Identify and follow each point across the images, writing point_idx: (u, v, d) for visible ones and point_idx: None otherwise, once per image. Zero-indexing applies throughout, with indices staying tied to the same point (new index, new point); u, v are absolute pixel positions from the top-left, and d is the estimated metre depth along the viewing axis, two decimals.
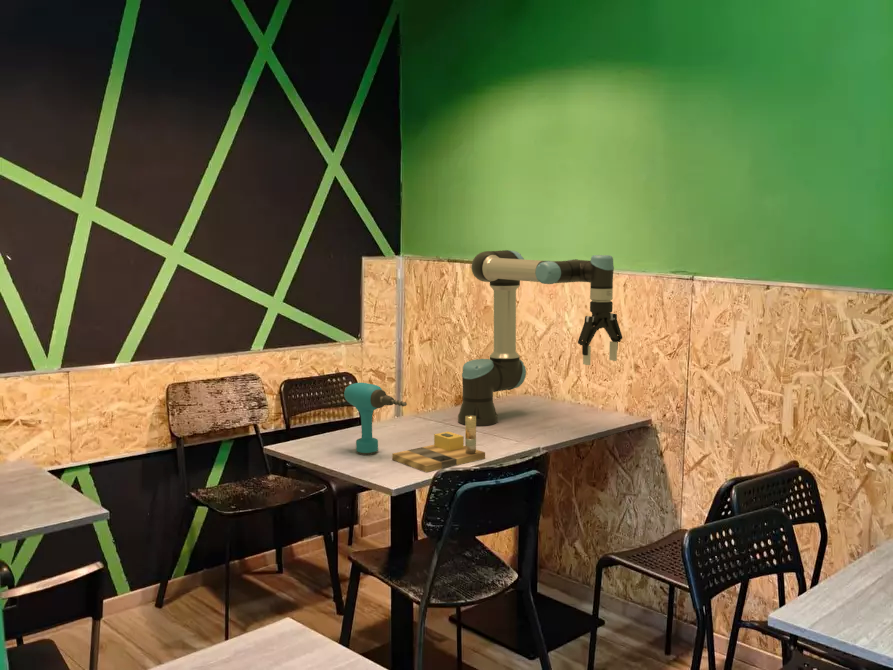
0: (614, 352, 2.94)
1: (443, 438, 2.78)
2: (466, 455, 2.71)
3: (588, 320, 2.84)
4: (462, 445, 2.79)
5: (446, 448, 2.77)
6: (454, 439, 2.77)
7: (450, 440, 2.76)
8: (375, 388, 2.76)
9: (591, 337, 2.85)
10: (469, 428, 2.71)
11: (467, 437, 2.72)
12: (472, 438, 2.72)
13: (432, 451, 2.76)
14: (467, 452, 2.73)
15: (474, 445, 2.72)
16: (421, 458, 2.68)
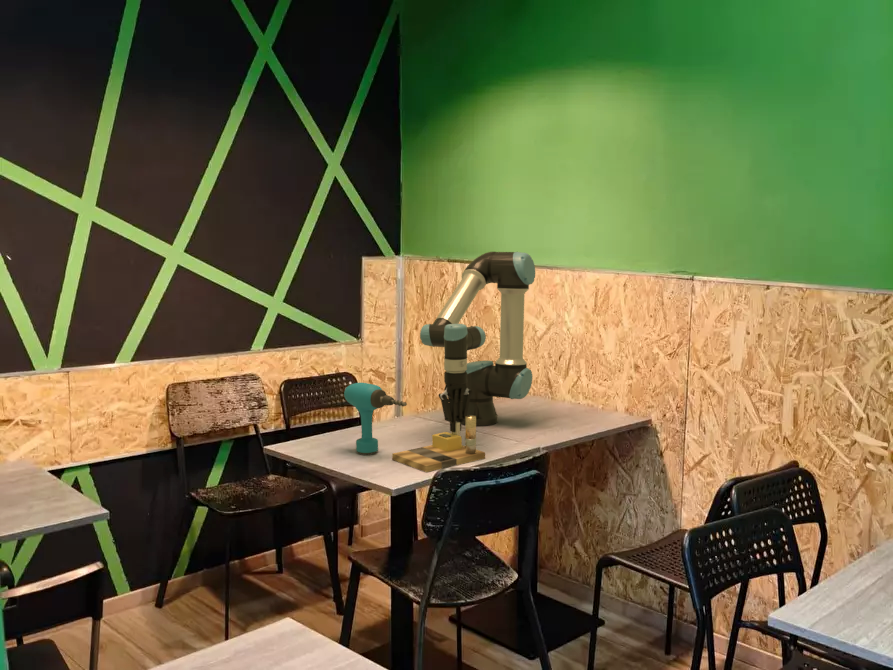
0: None
1: (441, 438, 2.77)
2: (466, 455, 2.71)
3: (443, 399, 2.77)
4: (460, 445, 2.79)
5: (444, 448, 2.77)
6: (452, 439, 2.76)
7: (448, 440, 2.75)
8: (375, 388, 2.76)
9: (454, 412, 2.79)
10: (469, 428, 2.71)
11: (467, 437, 2.72)
12: (472, 438, 2.72)
13: (432, 451, 2.76)
14: (467, 452, 2.73)
15: (474, 445, 2.72)
16: (421, 458, 2.68)
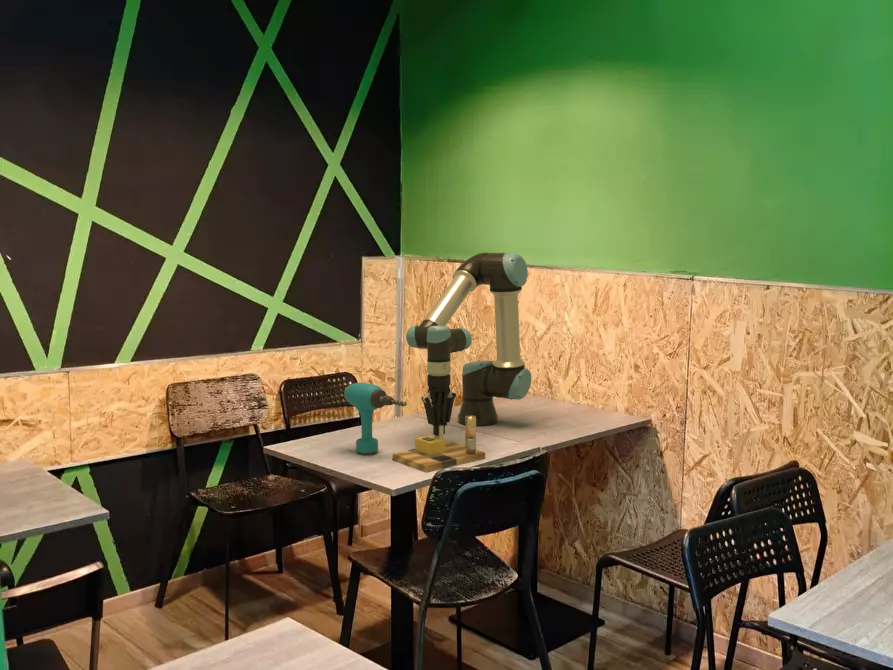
0: None
1: (424, 442, 2.73)
2: (466, 455, 2.71)
3: (426, 402, 2.72)
4: (443, 449, 2.75)
5: (427, 452, 2.72)
6: (435, 443, 2.72)
7: (431, 444, 2.71)
8: (375, 388, 2.76)
9: (438, 416, 2.75)
10: (469, 428, 2.71)
11: (467, 437, 2.72)
12: (472, 438, 2.72)
13: None
14: (467, 452, 2.73)
15: (474, 445, 2.72)
16: (421, 458, 2.68)
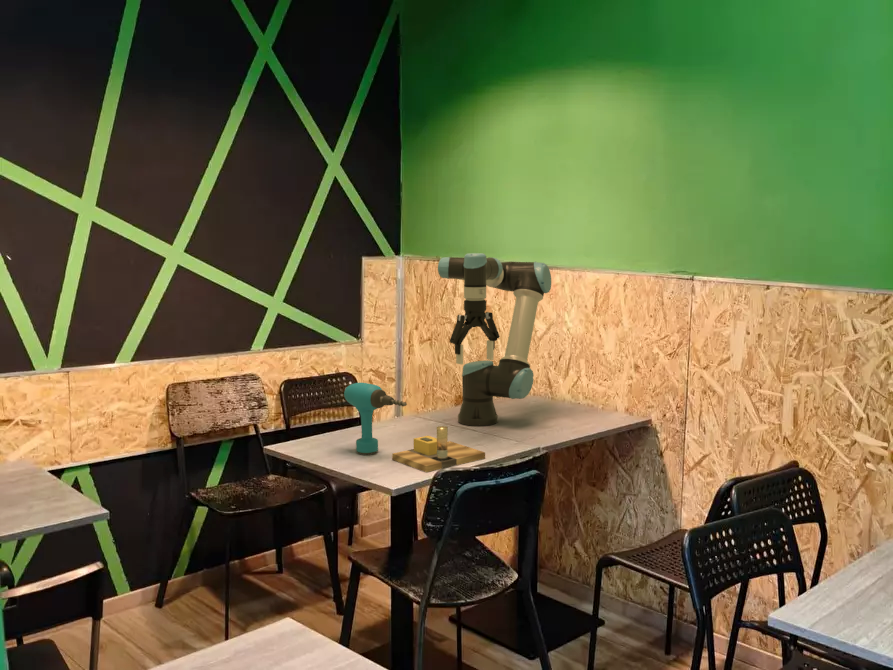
0: (490, 351, 2.91)
1: (422, 442, 2.73)
2: (466, 455, 2.71)
3: (460, 319, 2.82)
4: None
5: (425, 453, 2.72)
6: (433, 443, 2.72)
7: (429, 444, 2.71)
8: (375, 388, 2.76)
9: (463, 336, 2.83)
10: (440, 439, 2.65)
11: (438, 448, 2.66)
12: (443, 449, 2.66)
13: None
14: None
15: (445, 457, 2.67)
16: (421, 458, 2.68)
